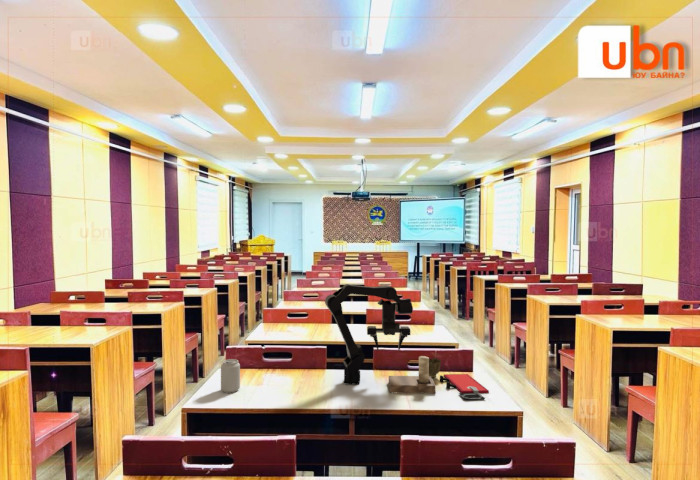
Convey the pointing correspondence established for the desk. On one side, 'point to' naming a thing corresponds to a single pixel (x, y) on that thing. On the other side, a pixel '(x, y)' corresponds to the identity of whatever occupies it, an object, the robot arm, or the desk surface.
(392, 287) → the robot arm
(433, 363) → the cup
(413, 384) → the walnut board
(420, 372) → the birch dowel
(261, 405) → the desk surface
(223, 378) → the can
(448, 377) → the red board with handle
